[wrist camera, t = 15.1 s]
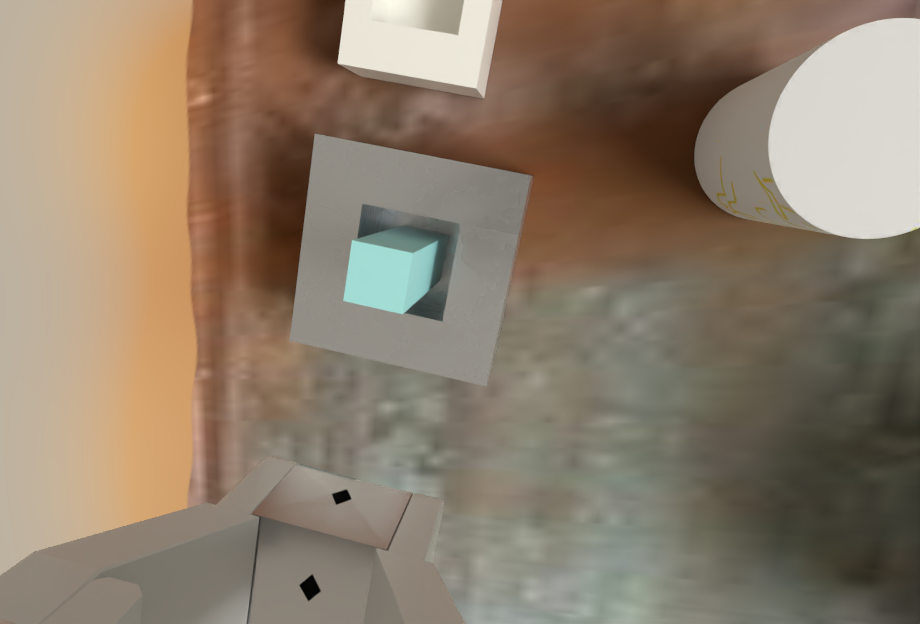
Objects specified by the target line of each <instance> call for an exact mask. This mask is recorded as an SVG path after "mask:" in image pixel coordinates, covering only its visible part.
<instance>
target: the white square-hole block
mask: <svg viewBox="0 0 920 624" xmlns="http://www.w3.org/2000/svg"><path fill="white" fill-rule="evenodd" d="M502 1H503V0H346V1H345V9H344V17H343V25H342V33H341V41H340V49H339V56H338V64H339V65H341V66H343V67H345V68H346V69H348V70H350V71H352V72H353V73H355V74H357V75H359V76H361V77H367V78H372V79H378V80H383V81H389V82H394V83H400V84H405V85H411V86H416V87H422V88H427V89H433V90H438V91H444V92H449V93H455V94H460V95H466V96H471V97H477V98H482V99H484V97H485V91H486V86H487V81H488V75H489V70H490V65H491V59H492V54H493V49H494V43H495V38H496V33H497V27H498V22H499V17H500V11H501V6H502Z"/></svg>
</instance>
